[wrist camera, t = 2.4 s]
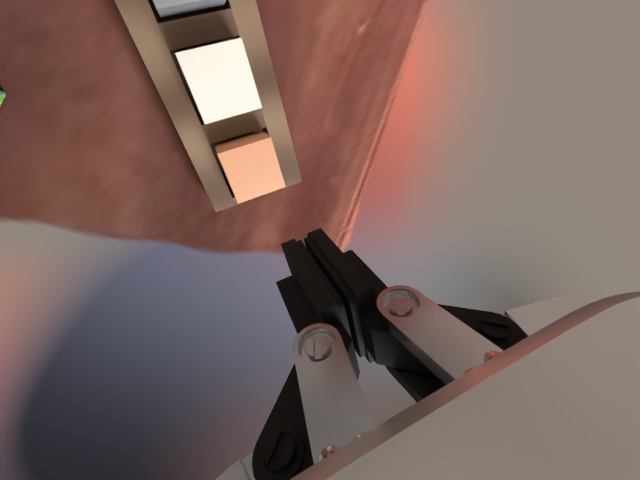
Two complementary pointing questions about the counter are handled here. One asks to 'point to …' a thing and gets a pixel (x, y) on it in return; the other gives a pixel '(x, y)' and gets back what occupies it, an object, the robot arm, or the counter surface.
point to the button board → (198, 138)
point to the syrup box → (2, 96)
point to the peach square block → (251, 165)
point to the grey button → (184, 6)
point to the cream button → (220, 80)
